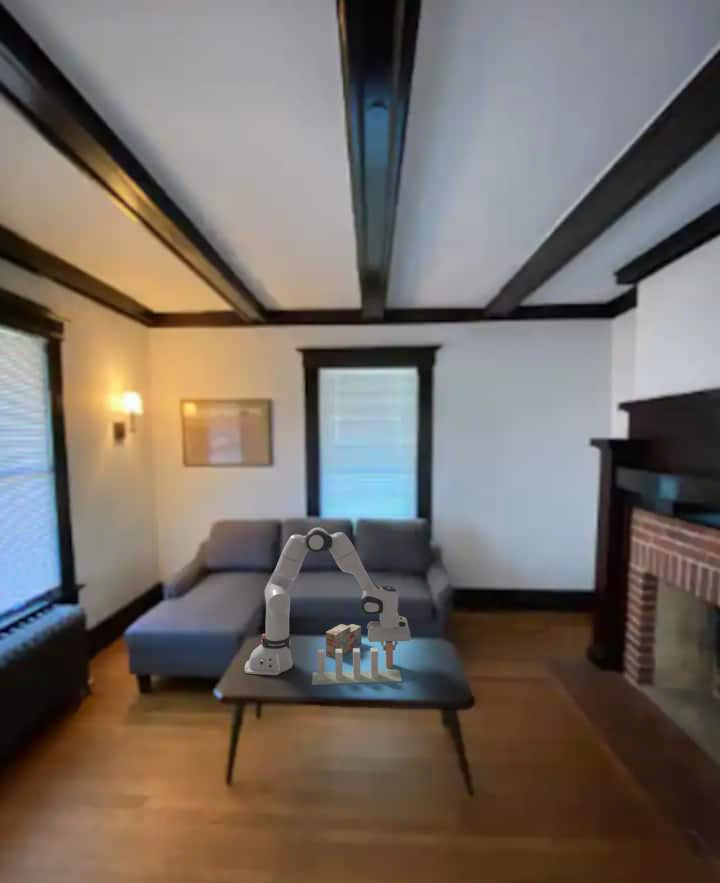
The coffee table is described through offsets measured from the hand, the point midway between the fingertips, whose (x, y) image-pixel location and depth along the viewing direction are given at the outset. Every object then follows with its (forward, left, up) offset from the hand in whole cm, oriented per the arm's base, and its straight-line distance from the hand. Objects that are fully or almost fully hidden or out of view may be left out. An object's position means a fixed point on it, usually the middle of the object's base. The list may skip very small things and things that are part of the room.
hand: (389, 649), depth 227 cm
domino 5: (0, 0, -8) cm, 8 cm away
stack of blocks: (-21, +19, -8) cm, 29 cm away
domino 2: (-24, -10, -7) cm, 27 cm away
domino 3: (-16, -10, -7) cm, 20 cm away
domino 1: (-32, -10, -7) cm, 34 cm away
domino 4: (-8, -10, -7) cm, 15 cm away
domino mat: (-16, -10, -8) cm, 20 cm away
